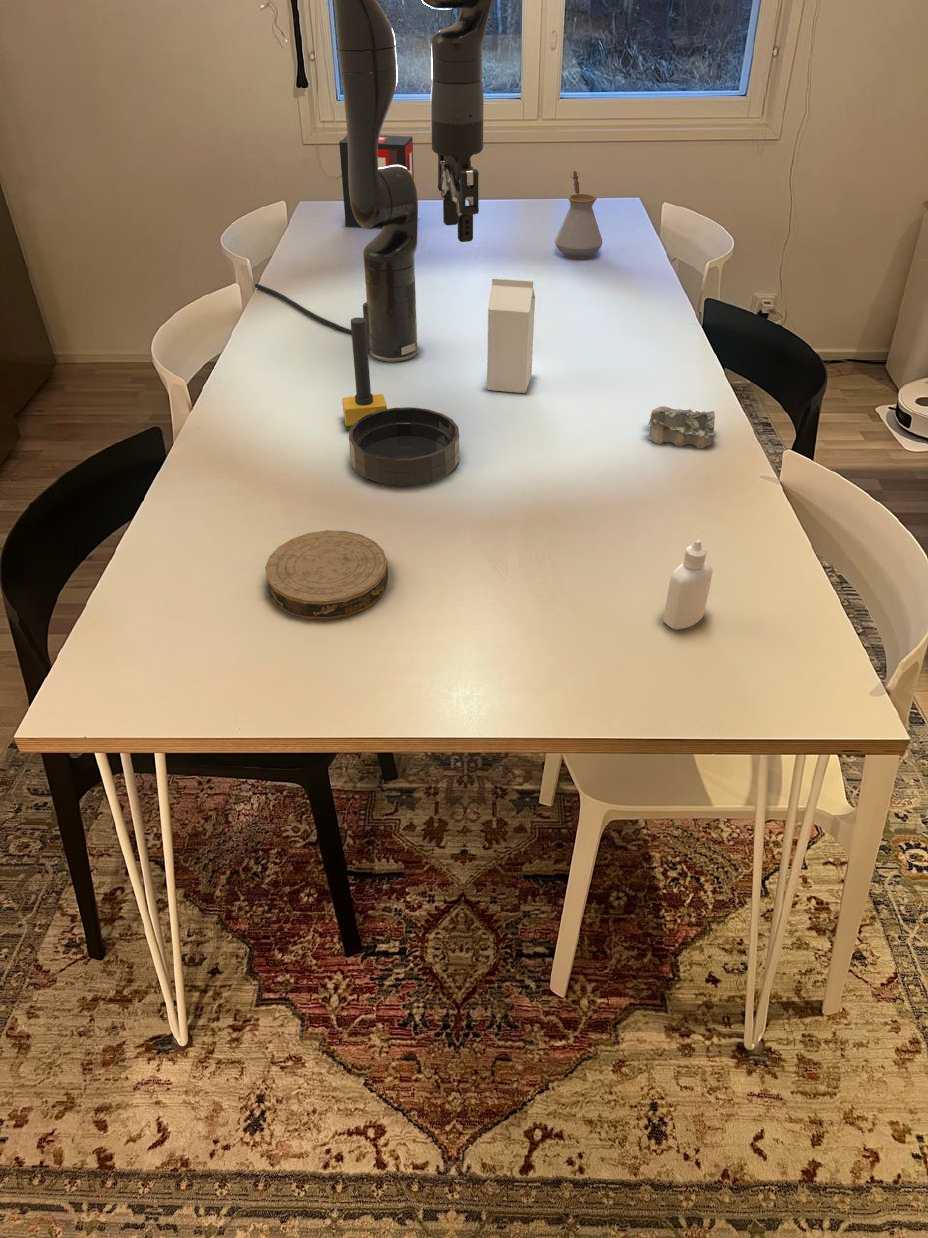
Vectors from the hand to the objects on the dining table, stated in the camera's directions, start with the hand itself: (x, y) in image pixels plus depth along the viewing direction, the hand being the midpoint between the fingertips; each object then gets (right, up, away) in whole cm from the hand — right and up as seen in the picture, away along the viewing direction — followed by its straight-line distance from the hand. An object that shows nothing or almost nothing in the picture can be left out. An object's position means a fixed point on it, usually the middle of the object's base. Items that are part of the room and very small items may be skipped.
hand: (457, 232), depth 145 cm
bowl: (-8, -34, +6) cm, 36 cm away
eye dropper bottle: (+29, -60, -25) cm, 71 cm away
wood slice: (-17, -55, -19) cm, 61 cm away
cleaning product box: (-21, +44, +102) cm, 113 cm away
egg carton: (+37, -29, +12) cm, 49 cm away
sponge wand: (-16, -26, +16) cm, 34 cm away
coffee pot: (+28, +32, +87) cm, 97 cm away
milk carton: (+9, -17, +27) cm, 33 cm away
